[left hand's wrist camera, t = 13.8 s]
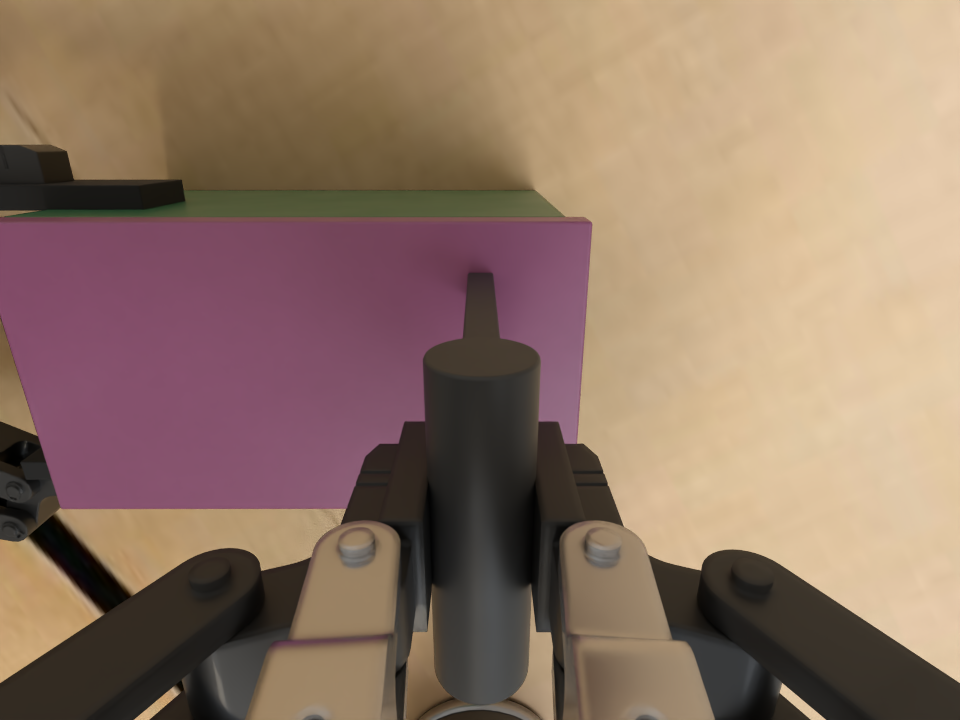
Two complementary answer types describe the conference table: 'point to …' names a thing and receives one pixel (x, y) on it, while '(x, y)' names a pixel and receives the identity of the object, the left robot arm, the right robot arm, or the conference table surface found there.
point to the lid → (312, 379)
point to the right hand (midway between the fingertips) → (190, 334)
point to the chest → (337, 204)
